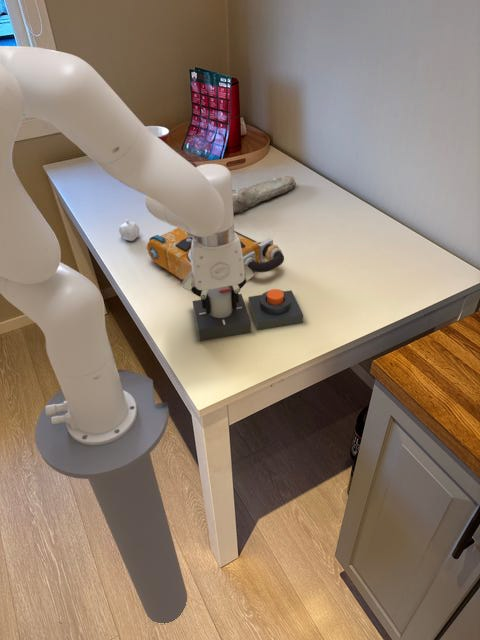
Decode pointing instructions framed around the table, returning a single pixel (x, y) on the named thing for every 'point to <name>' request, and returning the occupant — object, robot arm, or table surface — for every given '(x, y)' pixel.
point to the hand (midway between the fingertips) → (220, 306)
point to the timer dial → (220, 302)
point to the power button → (275, 297)
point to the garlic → (129, 230)
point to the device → (176, 253)
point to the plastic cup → (159, 132)
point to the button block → (275, 311)
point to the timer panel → (222, 322)
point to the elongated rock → (260, 192)
